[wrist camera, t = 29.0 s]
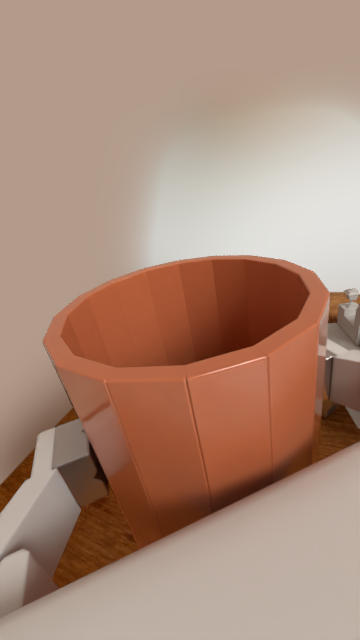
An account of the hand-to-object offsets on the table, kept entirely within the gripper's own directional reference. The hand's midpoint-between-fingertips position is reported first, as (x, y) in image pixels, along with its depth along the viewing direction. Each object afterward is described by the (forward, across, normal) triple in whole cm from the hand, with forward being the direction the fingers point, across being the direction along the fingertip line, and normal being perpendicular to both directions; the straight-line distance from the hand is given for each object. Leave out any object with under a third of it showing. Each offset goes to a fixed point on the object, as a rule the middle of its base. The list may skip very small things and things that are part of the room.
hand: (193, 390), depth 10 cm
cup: (-1, 0, -5) cm, 5 cm away
